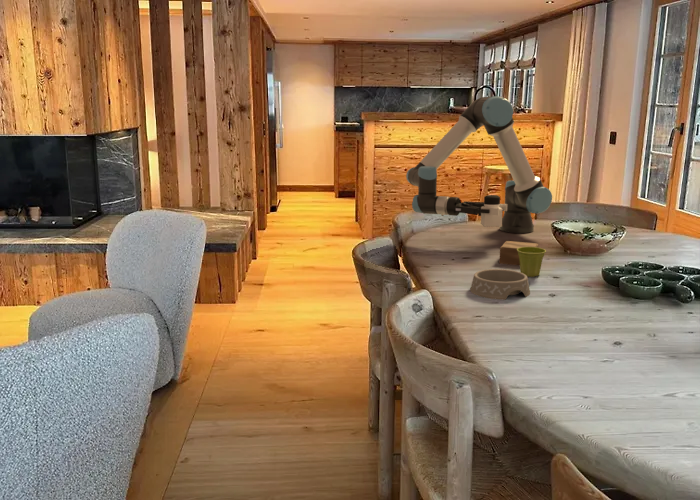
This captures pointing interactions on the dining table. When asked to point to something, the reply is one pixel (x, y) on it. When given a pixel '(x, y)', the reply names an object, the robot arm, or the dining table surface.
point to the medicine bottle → (492, 220)
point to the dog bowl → (499, 283)
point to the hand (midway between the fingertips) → (502, 209)
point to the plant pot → (530, 260)
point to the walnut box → (512, 252)
